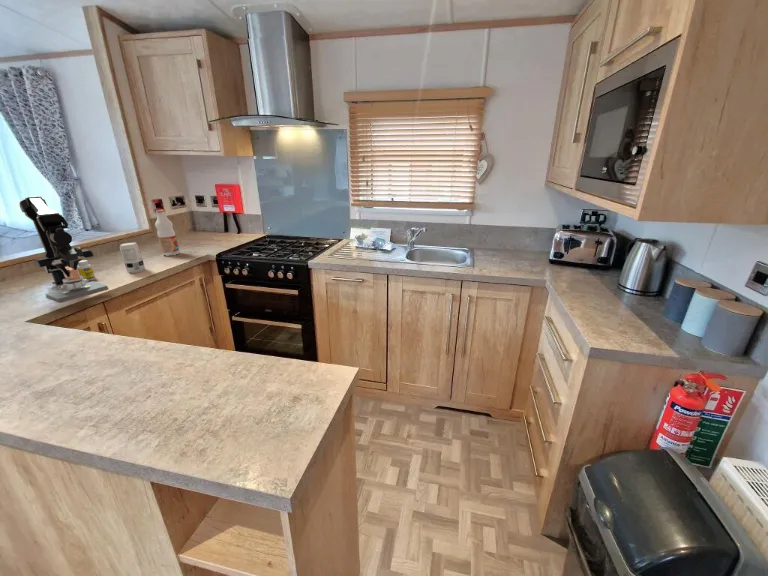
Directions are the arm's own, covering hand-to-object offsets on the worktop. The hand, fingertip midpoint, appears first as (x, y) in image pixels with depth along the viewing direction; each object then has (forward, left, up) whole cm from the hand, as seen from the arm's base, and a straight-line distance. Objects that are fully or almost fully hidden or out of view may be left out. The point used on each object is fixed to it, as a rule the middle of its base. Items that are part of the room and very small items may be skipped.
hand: (71, 276), depth 151 cm
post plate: (0, 0, -8) cm, 8 cm away
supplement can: (-11, +30, -8) cm, 33 cm away
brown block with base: (0, 0, -5) cm, 5 cm away
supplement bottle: (-18, +11, -8) cm, 23 cm away
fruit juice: (-28, +59, -8) cm, 66 cm away
